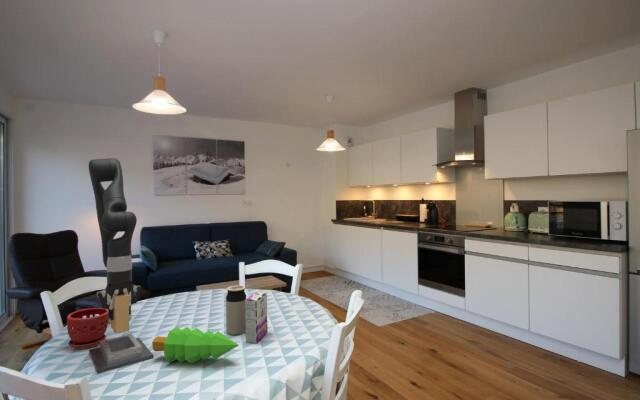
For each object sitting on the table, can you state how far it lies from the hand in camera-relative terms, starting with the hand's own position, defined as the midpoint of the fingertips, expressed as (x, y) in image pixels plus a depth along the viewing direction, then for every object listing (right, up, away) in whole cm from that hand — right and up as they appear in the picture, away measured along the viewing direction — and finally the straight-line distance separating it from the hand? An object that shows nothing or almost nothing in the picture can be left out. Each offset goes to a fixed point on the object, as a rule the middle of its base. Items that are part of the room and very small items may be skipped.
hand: (119, 317), depth 116 cm
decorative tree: (+28, -13, -6) cm, 32 cm away
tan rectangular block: (0, -4, 0) cm, 4 cm away
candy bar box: (+45, -13, +14) cm, 49 cm away
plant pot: (-18, -14, +10) cm, 24 cm away
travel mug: (+36, -13, +20) cm, 43 cm away
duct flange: (0, -13, 0) cm, 13 cm away
